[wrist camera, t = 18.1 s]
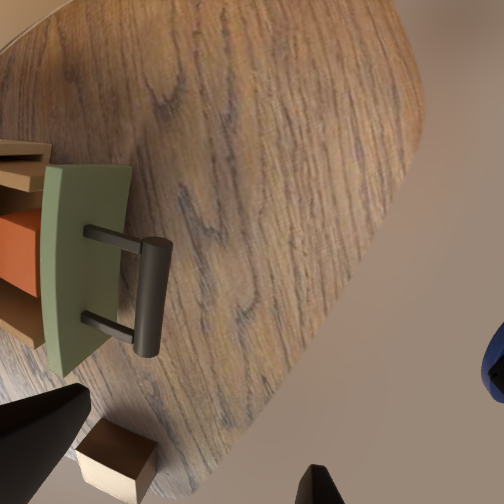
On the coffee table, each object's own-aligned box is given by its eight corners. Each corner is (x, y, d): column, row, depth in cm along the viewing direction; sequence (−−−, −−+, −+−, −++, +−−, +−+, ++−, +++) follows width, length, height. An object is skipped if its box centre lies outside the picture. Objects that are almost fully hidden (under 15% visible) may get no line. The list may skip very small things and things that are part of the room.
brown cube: (157, 442, 24) (135, 480, 19) (156, 474, 26) (137, 507, 21) (101, 417, 25) (74, 449, 20) (106, 451, 26) (84, 480, 22)
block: (79, 219, 18) (35, 230, 14) (76, 278, 19) (36, 298, 15) (40, 207, 18) (-3, 216, 14) (38, 261, 19) (-1, 277, 15)
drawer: (210, 182, 17) (158, 187, 11) (179, 357, 20) (137, 416, 14) (-19, 144, 19) (-71, 147, 13) (-23, 260, 23) (-69, 278, 16)
